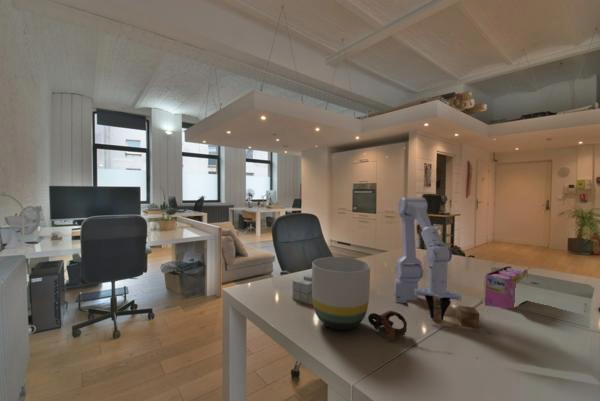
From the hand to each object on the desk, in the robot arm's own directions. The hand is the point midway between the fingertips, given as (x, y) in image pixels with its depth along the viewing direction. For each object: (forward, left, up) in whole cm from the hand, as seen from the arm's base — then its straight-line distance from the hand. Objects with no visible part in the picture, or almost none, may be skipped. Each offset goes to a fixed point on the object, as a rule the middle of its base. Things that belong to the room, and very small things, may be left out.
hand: (436, 317), depth 96 cm
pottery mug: (-17, -12, -2) cm, 21 cm away
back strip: (+7, +9, -2) cm, 12 cm away
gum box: (+32, +29, -2) cm, 43 cm away
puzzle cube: (-47, +9, -3) cm, 48 cm away
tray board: (+6, +5, -2) cm, 8 cm away
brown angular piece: (+6, 0, -2) cm, 6 cm away
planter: (-32, -12, -2) cm, 35 cm away
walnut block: (+10, 0, -1) cm, 10 cm away
